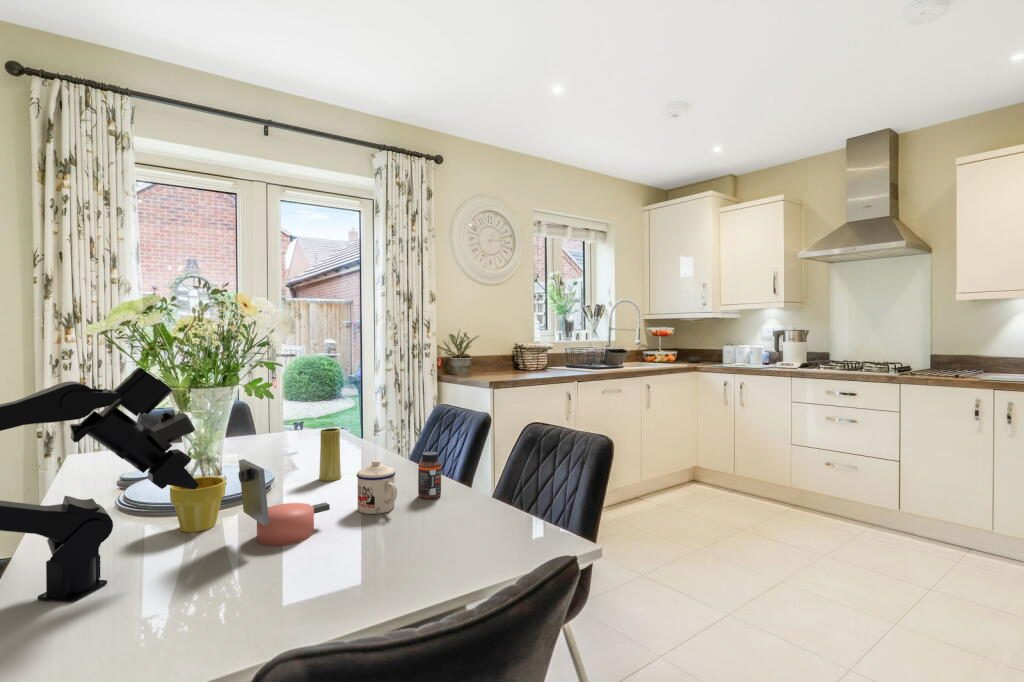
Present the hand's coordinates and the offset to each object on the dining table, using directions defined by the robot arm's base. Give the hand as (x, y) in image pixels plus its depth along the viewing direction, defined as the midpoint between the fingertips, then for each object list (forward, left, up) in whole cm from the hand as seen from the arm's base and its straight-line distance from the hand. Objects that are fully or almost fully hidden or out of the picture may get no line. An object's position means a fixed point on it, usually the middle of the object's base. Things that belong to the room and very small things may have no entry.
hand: (196, 487), depth 99 cm
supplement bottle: (+43, -33, -14) cm, 56 cm away
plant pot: (+15, +11, -14) cm, 23 cm away
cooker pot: (+15, -11, -14) cm, 23 cm away
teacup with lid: (+31, -24, -14) cm, 41 cm away
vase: (+55, 0, -14) cm, 57 cm away
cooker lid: (+8, -7, -3) cm, 11 cm away
